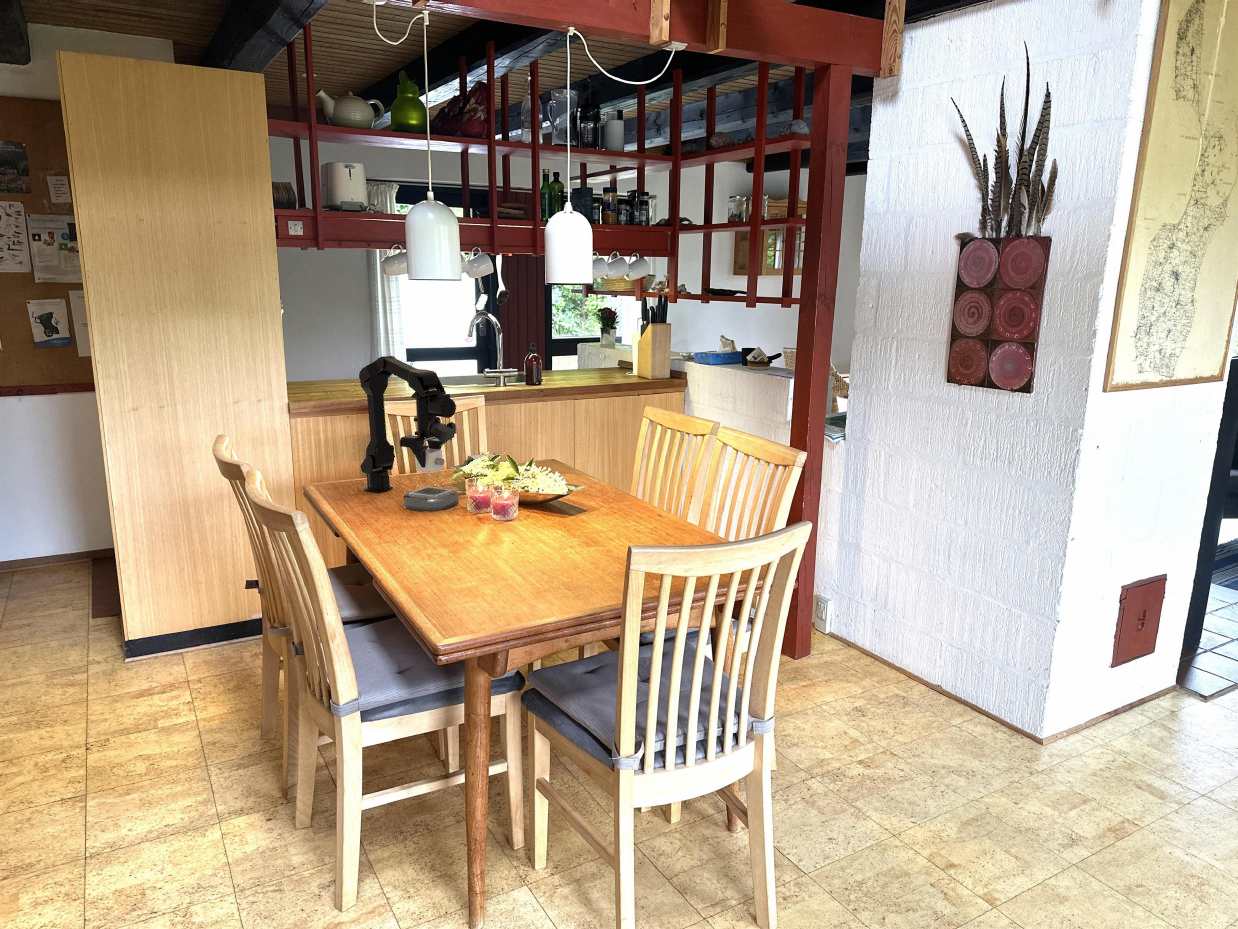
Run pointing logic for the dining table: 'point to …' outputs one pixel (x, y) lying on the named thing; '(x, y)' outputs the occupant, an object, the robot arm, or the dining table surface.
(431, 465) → the pump block
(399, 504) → the dining table surface
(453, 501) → the grey shallow dish
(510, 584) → the dining table surface
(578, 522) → the dining table surface
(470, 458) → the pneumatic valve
